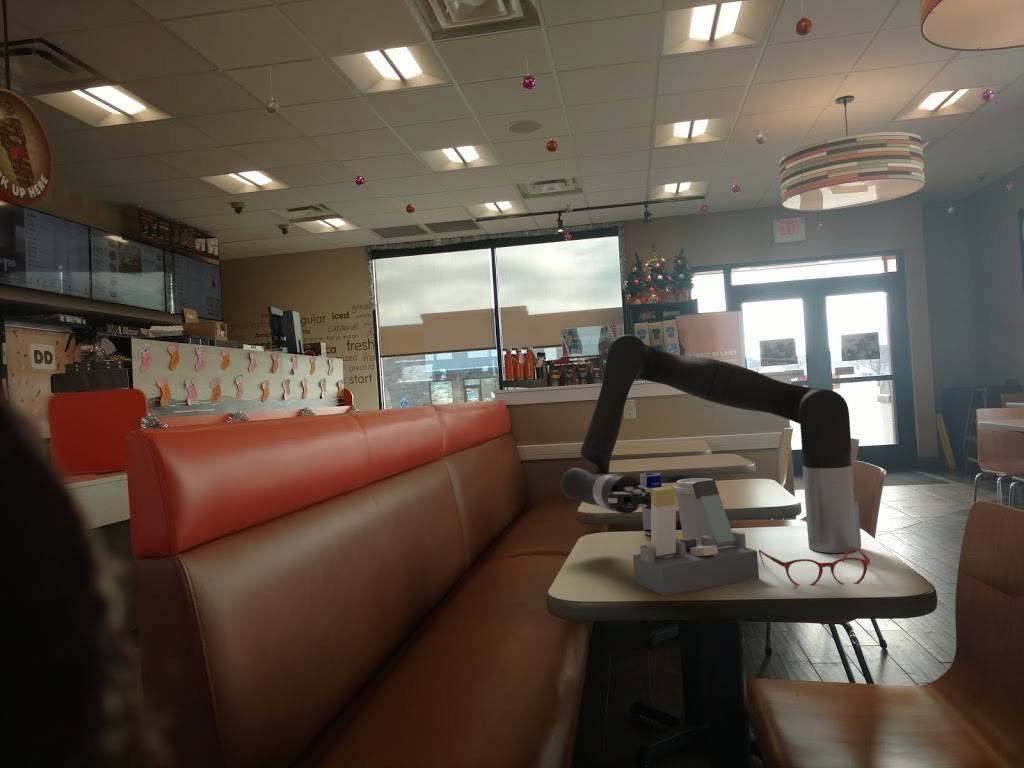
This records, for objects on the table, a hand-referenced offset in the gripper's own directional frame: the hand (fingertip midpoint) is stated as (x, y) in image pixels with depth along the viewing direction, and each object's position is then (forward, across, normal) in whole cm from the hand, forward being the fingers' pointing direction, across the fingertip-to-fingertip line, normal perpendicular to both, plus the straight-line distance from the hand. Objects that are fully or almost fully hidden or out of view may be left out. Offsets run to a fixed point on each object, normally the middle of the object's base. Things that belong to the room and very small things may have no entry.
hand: (660, 501), depth 122 cm
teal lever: (-1, +13, +9) cm, 16 cm away
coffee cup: (-20, +20, +15) cm, 32 cm away
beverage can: (-39, +20, +14) cm, 46 cm away
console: (-1, +6, +15) cm, 17 cm away
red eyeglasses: (+7, +27, +16) cm, 32 cm away
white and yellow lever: (-1, 0, +9) cm, 9 cm away
